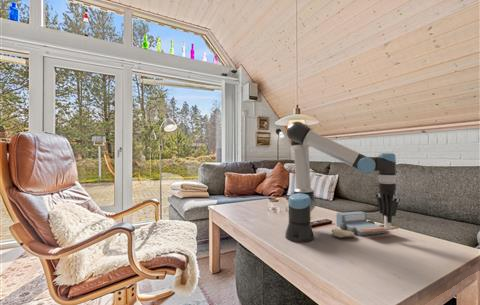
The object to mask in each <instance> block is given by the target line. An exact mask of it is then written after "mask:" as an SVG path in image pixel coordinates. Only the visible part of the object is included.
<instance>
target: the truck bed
mask: <svg viewBox="0 0 480 305" xmlns="http://www.w3.org/2000/svg"><path fill="white" fill-rule="evenodd" d="M367 218H368V216H367V212H364V211H349V212H336V227H338V228H340V230H346V231H351V232H353V233H354V235H353V236H355V235H356V236H367V235H368V236H369V235H376V234H377V235H378V234H382V233H383V234H384V233H386V232H387V230H384V231H374V232H372V231H361V230H360V229H368V228H379V227H384V224H379V225H378V224H375V221H373V220H368V219H367Z"/></svg>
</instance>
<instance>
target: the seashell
mask: <svg viewBox="0 0 480 305" xmlns="http://www.w3.org/2000/svg"><path fill="white" fill-rule="evenodd" d="M331 235H332V236H335V237H337V238H338V239H339V238H340V239H341V238H343V239H344V238H350V237H353V236H355V235H354V233H353V232H351V231H347V230H342V229H337V228H334V229H332V230H331Z"/></svg>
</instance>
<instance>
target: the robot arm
mask: <svg viewBox="0 0 480 305" xmlns="http://www.w3.org/2000/svg"><path fill="white" fill-rule="evenodd" d="M286 136H287V137H288V139H289V140H290V146H291V147H292V148H293V156H294V158H293V159H294V170H295V172H294V175H295V188H294V189H293V193H292V194H290V195H289V197H288V224H287V227H286V231H285V239H286V240H287V241H290V242H292V243H297V244H298V243H300V244H302V243H303V244H304V243H312V242H313V241H314V240H315V235H314V230H313V228H312V225H311V224H312V223H311V213H312V211H313V210H314V209H315V207H316V204H317V202H316V197H315V190H314V189H313V188H312V185H311V170H310V169H311V168H310V167H311V166H310V153H309V147H311V148H314V149H315V150H317V151H320V152H321V153H323V154H325V155H327V156H330V157H332V158H333V159H336V160H337V161H339V162H342V163H344V164H346V165H348V166H349V167H352V168H353V170H354V171H358V172H361V173H363V174H371V173H372V172H378V182H379V183H378V190H379V193H377V194H375V197H376V201H377V204H378V205H377V206H378V212H379V214H382V220H383V225H384V228H385V229H391V227H392V226H391V225H392V224H391V223H392V221H393V220H392V219H393V218H392V217H396V214H397V210H398V206H399V202H400V201H401V198H400V197H397V196H396V193H395V192H396V190H397V184H396V183H397V173H396V172H397V171H396V170H397V161H396V160H397V159H396V154H395V153H392V152H391V153H389V152H388V153H386V152H384V153H382V152H379V153H378V156H366V155H364V154H362V153H359V152H358V151H355V150H354V149H351V148H349V147H347V146H345V145H343V144H340V143H338V142H336V141H334V140H331V139H329V138H327V137H325V136H323V135H321V134H318V133H316V132H315V131H314V130H313V129H312V128H310V126H308V125H307V124H305V123H303V122H301V121H293V122H291V123H290V124H288V127H286Z"/></svg>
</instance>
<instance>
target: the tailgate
mask: <svg viewBox="0 0 480 305" xmlns="http://www.w3.org/2000/svg"><path fill="white" fill-rule="evenodd" d="M398 229H399V226H391V229H385V228H384V227H379V228H368V229H360V230H361V231H372V232H374V231H384V230H386V231H393V230H398Z"/></svg>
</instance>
